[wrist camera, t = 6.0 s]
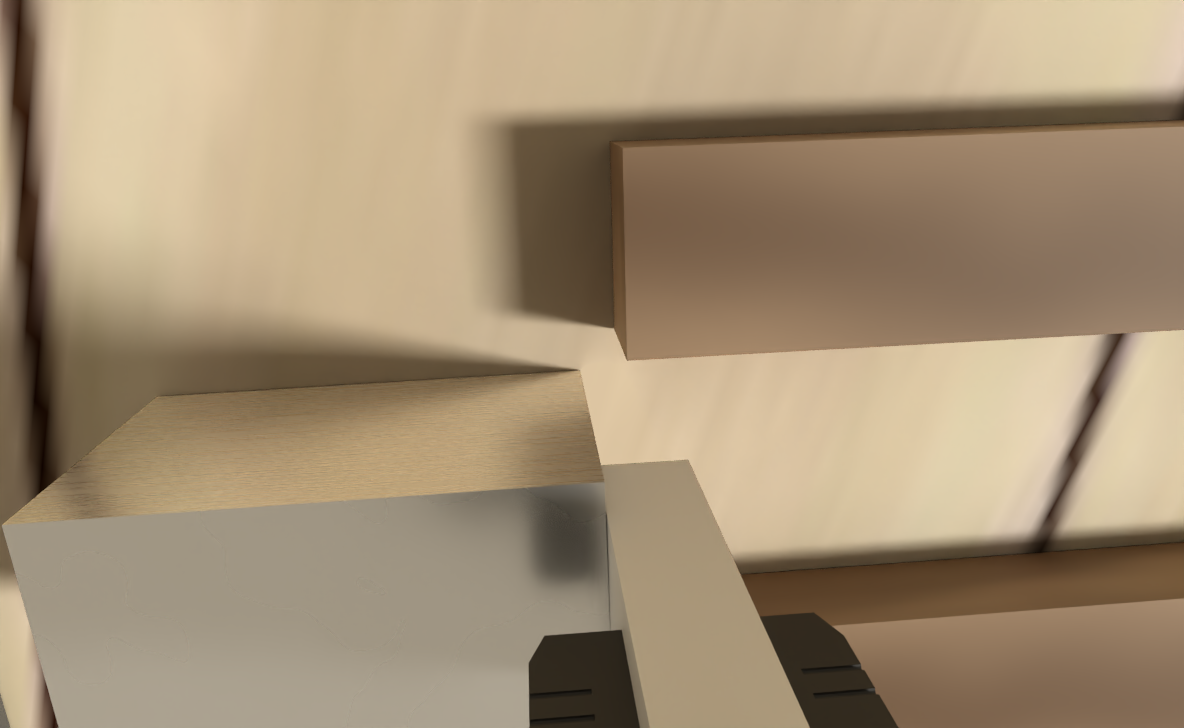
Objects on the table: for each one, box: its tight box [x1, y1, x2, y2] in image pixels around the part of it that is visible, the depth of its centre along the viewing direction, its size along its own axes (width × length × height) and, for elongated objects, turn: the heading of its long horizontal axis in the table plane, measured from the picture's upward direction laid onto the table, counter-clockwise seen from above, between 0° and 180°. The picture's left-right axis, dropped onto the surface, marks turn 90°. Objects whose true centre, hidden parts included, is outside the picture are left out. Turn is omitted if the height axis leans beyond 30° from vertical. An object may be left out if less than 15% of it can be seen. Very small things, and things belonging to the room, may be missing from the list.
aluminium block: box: [2, 370, 610, 728], centre depth 14 cm, size 4×8×5 cm, turn 92°
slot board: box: [610, 120, 1184, 728], centre depth 17 cm, size 13×18×2 cm
